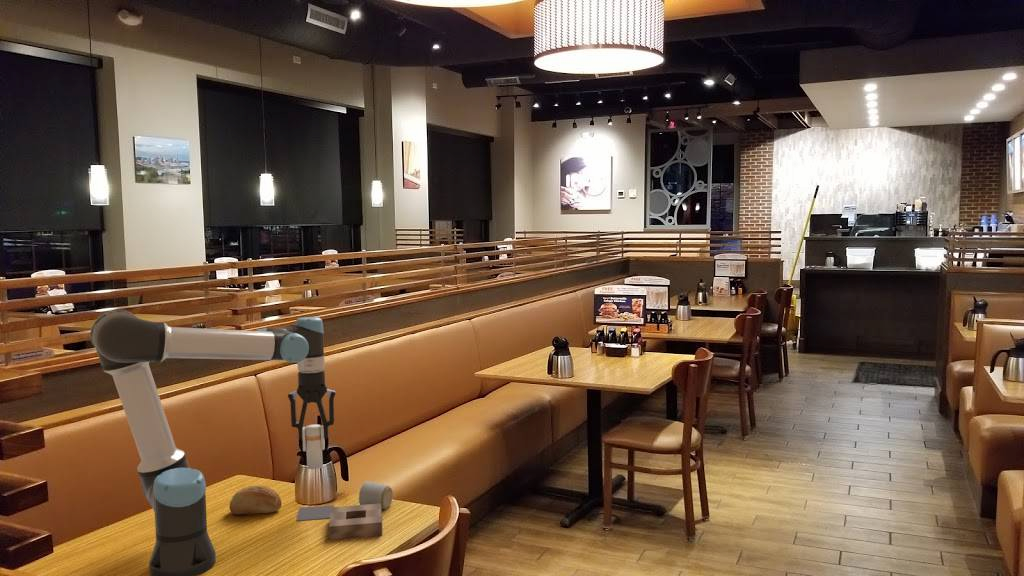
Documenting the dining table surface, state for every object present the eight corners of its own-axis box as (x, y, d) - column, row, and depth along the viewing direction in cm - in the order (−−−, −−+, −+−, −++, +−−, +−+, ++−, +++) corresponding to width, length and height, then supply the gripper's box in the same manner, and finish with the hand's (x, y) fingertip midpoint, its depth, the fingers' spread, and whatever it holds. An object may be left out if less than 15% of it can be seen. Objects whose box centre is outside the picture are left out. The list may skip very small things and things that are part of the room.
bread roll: (277, 518, 215) (276, 491, 214) (224, 520, 213) (223, 493, 213) (284, 505, 224) (283, 480, 224) (233, 508, 223) (232, 482, 222)
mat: (296, 522, 211) (296, 520, 211) (299, 509, 221) (299, 507, 221) (332, 519, 213) (332, 517, 213) (334, 506, 223) (333, 505, 223)
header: (328, 541, 198) (327, 526, 198) (331, 520, 212) (330, 507, 212) (382, 536, 201) (382, 522, 200) (382, 516, 215) (381, 503, 215)
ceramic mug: (383, 513, 217) (383, 488, 217) (358, 511, 219) (358, 485, 219) (398, 501, 227) (398, 477, 227) (374, 499, 229) (374, 474, 229)
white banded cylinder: (306, 469, 213) (304, 429, 212) (307, 464, 218) (305, 425, 217) (322, 468, 214) (320, 427, 213) (323, 463, 219) (321, 423, 218)
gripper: (278, 374, 208) (281, 455, 210) (341, 371, 212) (344, 451, 213) (281, 369, 216) (284, 447, 218) (342, 366, 219) (345, 443, 221)
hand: (313, 449), depth 216 cm, fingers closed on white banded cylinder, 4 cm apart
